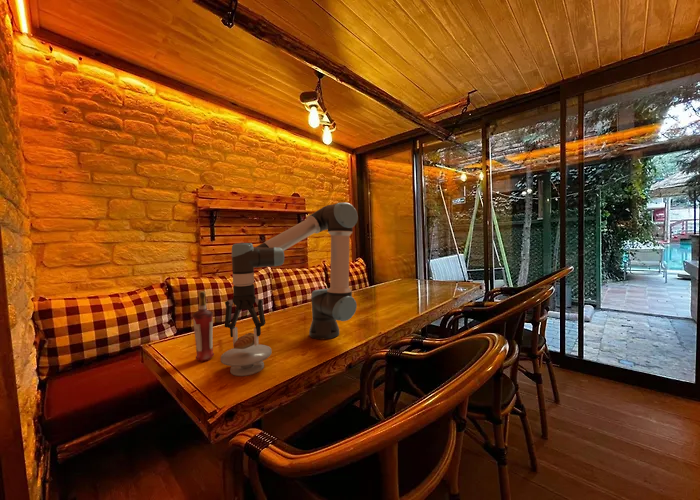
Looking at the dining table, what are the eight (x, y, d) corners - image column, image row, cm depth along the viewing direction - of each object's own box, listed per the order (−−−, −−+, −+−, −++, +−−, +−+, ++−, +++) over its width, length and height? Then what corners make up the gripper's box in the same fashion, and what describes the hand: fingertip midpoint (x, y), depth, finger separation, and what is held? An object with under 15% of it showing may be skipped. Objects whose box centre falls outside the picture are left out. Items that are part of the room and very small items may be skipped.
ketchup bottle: (193, 358, 120) (190, 292, 119) (212, 353, 125) (209, 289, 123) (196, 364, 114) (193, 294, 113) (216, 359, 119) (213, 291, 118)
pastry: (245, 351, 103) (244, 340, 102) (228, 350, 104) (228, 339, 104) (259, 342, 112) (258, 332, 112) (243, 341, 113) (243, 331, 113)
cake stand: (276, 357, 118) (276, 343, 118) (265, 379, 100) (264, 362, 100) (232, 359, 118) (231, 345, 117) (212, 381, 100) (211, 364, 100)
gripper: (273, 282, 112) (275, 340, 113) (220, 283, 111) (223, 342, 112) (268, 285, 104) (270, 347, 105) (212, 286, 104) (214, 349, 105)
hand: (246, 344), depth 109 cm, fingers closed on pastry, 7 cm apart
